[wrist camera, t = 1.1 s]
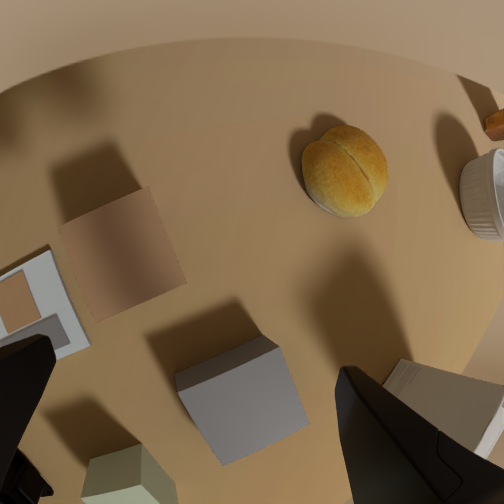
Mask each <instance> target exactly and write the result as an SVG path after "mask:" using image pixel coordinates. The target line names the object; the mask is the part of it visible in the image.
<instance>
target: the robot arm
mask: <svg viewBox="0 0 504 504" xmlns="http://www.w3.org/2000/svg"><path fill="white" fill-rule="evenodd" d="M55 364H56V354H55V351H54V348H53V345H52V342H51V339H50V338H49V336H47V335H44V334H35V335H33V336H30V337H27V338H24V339H21V340H19V341H16V342H13V343H10V344H7V345H5V346H2V347H0V504H38V502H39V499H40V497H45V496H52V495H53V493H54V491H53V490H52V489H51V488H50V487H49V486H48V485H47V483H46V482H45V481H44V480H43V479H42V478H41V477H40V476H39V475H38V473H37V472H36V471H35V470H34V469H33V468H32V466H31V465H30V464H29V463H28V461H27V460H26V459H25V458H24V456H23V455H22V454H21V453H20V451H19V450H17V447H18V445H19V442H20V440H21V438H22V436H23V434H24V432H25V429H26V427H27V425H28V423H29V421H30V419H31V417H32V415H33V413H34V411H35V409H36V407H37V405H38V403H39V401H40V399H41V397H42V394H43V392H44V390H45V387H46V385H47V382H48V380H49V378H50V375H51V373H52V370H53V368H54V366H55ZM335 401H336V410H337V419H338V428H339V437H340V443H341V447H342V452H343V456H344V460H345V465H346V469H347V473H348V478H349V483H350V487H351V492H352V497H353V501H354V504H504V469H503V468H501V467H499V466H497V465H495V464H493V463H491V462H489V461H488V460H486V459H484V458H482V457H481V456H479V455H477V454H475V453H474V452H472V451H470V450H469V449H467V448H465V447H464V446H462V445H461V444H459V443H458V442H456V441H455V440H453V439H452V438H451V437H449V436H448V435H446V434H445V433H444V432H442V431H441V430H439V431H438V428H437V427H435V426H434V425H433V424H431V423H430V422H429V421H427V420H426V419H425V418H423V417H422V416H421V415H419V414H418V413H417V412H415V411H414V410H413V409H411V408H410V407H409V406H407V405H406V404H405V403H404V402H402V401H401V400H400V399H398V398H397V397H396V396H394V395H393V394H392V393H390V392H389V391H388V390H387V389H385V388H384V387H383V386H381V385H380V384H379V383H377V382H376V381H375V380H374V379H372V378H371V377H370V376H368V375H367V374H366V373H365V372H363V371H362V370H361V369H360V368H358V367H357V366H343V367H341V369H340V372H339V375H338V379H337V383H336V386H335ZM16 453H17V454H16Z"/></svg>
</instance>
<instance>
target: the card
mask: <svg viewBox="0 0 504 504" xmlns="http://www.w3.org/2000/svg"><path fill="white" fill-rule="evenodd" d="M35 334H44V335H47V336H49V338H50V339H51V342H52V345H53V348H54V351H55V354H56V360H58V359H60V358H62V357H65V356H67V355H70V354H72V353H74V352H77V351H79V350H82V349H84V348H86V347H89V346H91V342H90V340H89V338H88V336H87V334H86V332H85V330H84V328H83V326H82V323H81V321H80V319H79V317H78V315H77V313H76V310H75V308H74V306H73V304H72V301H71V299H70V297H69V294H68V292H67V289H66V287H65V284H64V282H63V279H62V277H61V274H60V271H59V269H58V266H57V263H56V261H55V258H54V255H53V252H52V250H48V251H46V252H44V253H42V254H41V255H39V256H37V257H35V258H33V259H31V260H29V261H27V262H26V263H24V264H22V265H20V266H18V267H16V268H15V269H13V270H11V271H9V272H8V273H6V274H4V275H2V276H1V277H0V347H2V346H5V345H7V344H10V343H13V342H16V341H19V340H21V339H24V338H27V337H30V336H33V335H35Z"/></svg>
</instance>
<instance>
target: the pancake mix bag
mask: <svg viewBox="0 0 504 504" xmlns="http://www.w3.org/2000/svg"><path fill="white" fill-rule="evenodd" d="M484 124H485V133H486V134H487V136H488V137H489V138H490V139H491V140H492V141H500V140H504V109H501V110H500V111H498V112H496V113H494V114H492V115H490V116H489V117H487V118H486V119H485V120H484Z"/></svg>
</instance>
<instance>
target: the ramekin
mask: <svg viewBox="0 0 504 504" xmlns="http://www.w3.org/2000/svg"><path fill="white" fill-rule="evenodd" d="M459 194H460V202H461V207H462V211H463V214H464V217H465V220H466V222H467V224H468V226H469V228H470V229H471V231H472V232H473V233H474V234H475V235H476V236H478V237H479V238H481V239H483V240H490V241H503V242H504V150H503V149H501V148H497V149H492V150H491V151H490V152H489V153H487V154H485V155H482V156H480V157H478V158H476V159H474V160H472V161H470V162H469V163H467V164H466V165H465V167H464V169H463V171H462V173H461V176H460V183H459Z"/></svg>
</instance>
